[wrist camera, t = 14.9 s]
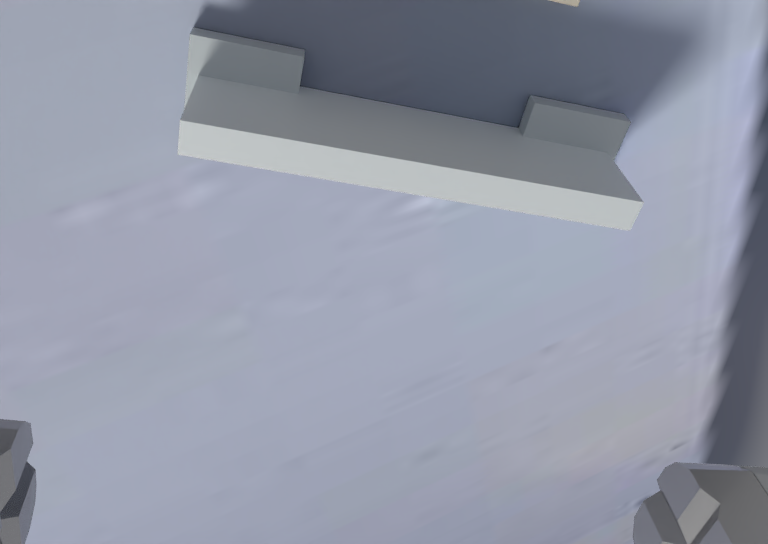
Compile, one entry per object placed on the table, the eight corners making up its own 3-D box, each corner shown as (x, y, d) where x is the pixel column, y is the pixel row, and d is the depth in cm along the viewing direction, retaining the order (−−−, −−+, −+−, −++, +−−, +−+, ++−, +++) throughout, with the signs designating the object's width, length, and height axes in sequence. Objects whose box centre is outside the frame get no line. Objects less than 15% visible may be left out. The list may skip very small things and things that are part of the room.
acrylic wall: (185, 130, 34) (162, 190, 30) (193, 27, 32) (169, 75, 27) (586, 200, 38) (624, 263, 33) (623, 114, 36) (671, 169, 31)
